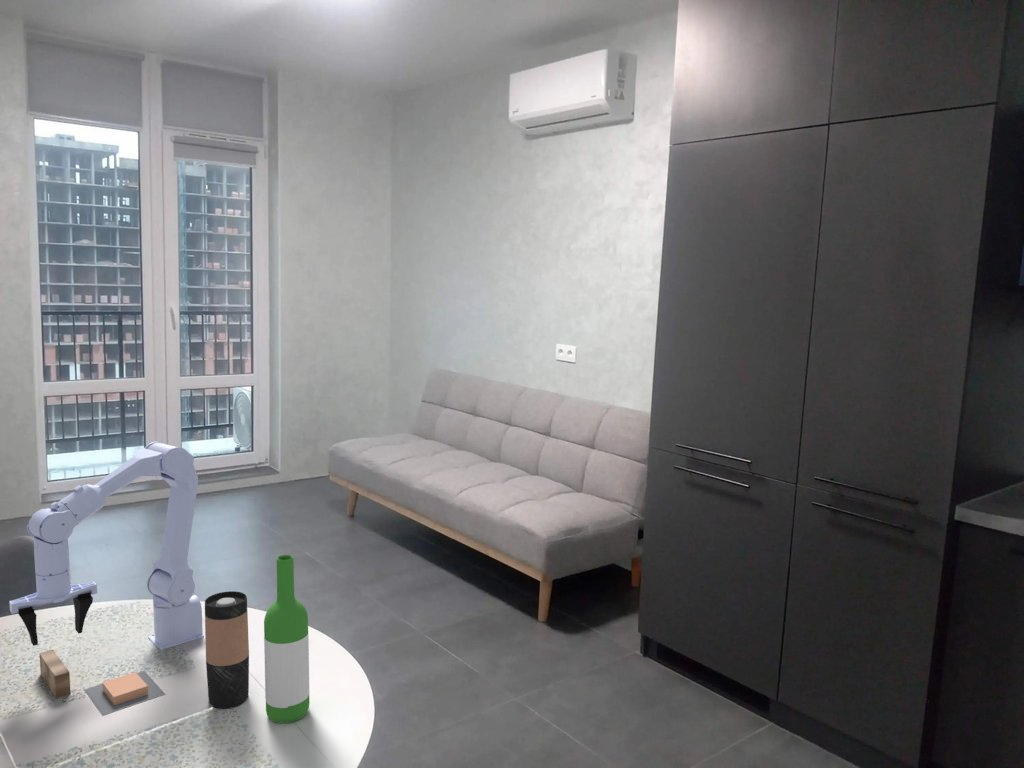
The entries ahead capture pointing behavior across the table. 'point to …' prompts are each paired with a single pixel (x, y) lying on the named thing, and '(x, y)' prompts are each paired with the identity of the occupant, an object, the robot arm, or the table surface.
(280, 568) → the wine bottle
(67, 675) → the bar
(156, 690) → the mat
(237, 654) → the travel mug
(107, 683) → the block
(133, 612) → the table surface
